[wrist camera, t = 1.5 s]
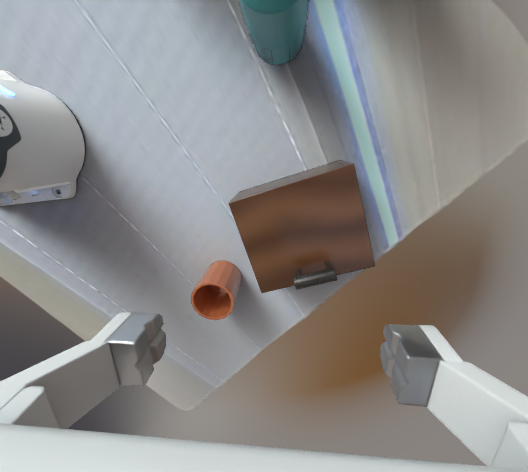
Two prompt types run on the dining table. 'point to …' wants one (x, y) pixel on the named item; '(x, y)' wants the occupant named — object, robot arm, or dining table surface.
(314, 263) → the lid
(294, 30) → the beverage bottle
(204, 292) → the cup
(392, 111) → the dining table surface
